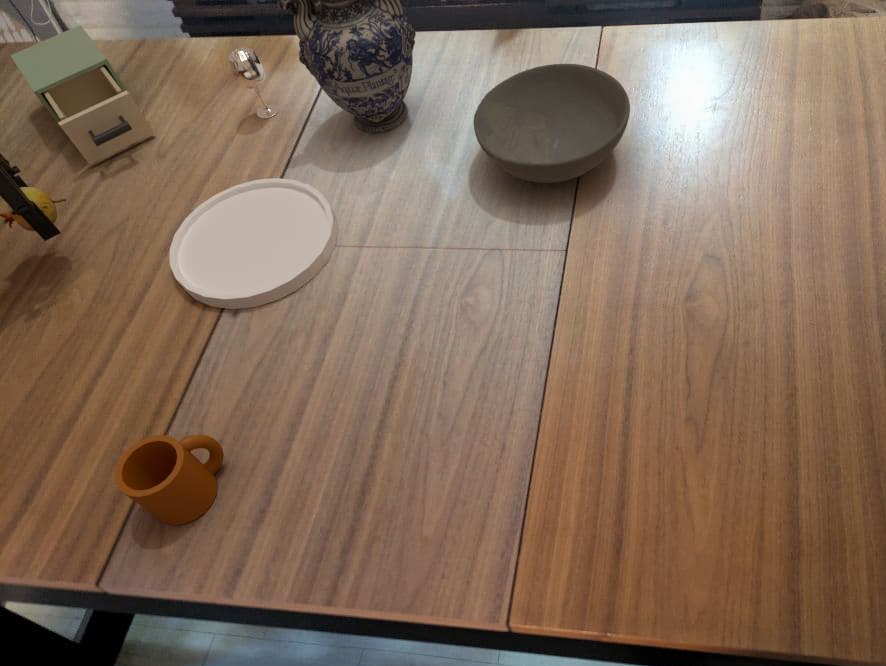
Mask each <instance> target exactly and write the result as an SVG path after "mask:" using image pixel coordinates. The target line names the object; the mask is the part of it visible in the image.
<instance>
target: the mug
mask: <svg viewBox="0 0 886 666" xmlns="http://www.w3.org/2000/svg"><path fill="white" fill-rule="evenodd" d="M198 449H203V450H206V451H208V453H209V456H208V459H207V460H206V461H205V463H202V461H201V460H199V458H197V457H196V455H195V454H193V453H192V451H194V450H198ZM224 455H225V453H224V449H223V447H222V445H221V443H220V442H218V440H217V439H216V438H214V437H212V436H209V435H207V434H201V433H199V434H192V435H188V436H185V437H183V438H181V439H180V440H178V439H177V438H174V437H173V436H171V435H165V434H157V435H151V436H148V437H146V438H142V439H141V440H138V441H137V442H136V443H135V444H133V445H131V446H130V447H129V448H128V449H127V450H126V452H124V453H123V455H122V456H121V457H120V459H119V461H118V463H117V465H116V468H115V472H114V480H115V481H114V482H115V485H116V486H117V489H119V491H120V492H121V493H123V494H124V495H125V496H126V497H128V498H130V500H132V501H133V502H135V503H136V504H137V505H139V506H140V507H142V508H143V509H144V510H146V511H147V512H149V513H150V514H151V515H153V516H154V517H155V518H157V519H158V520H160V521H162V522H163V523H165V524H167V525H173V526H179V525H184V524H188V523H190V522H193V521H195V520H197V519H198V518H199V517H201V516H203V514H205V513H206V512H207V511H208V509H209V508H210V507H211V506H212V505H213V503H214V501H215V498H216V496H217V492H218V486H219V485H218V481H217V477H216V476H215V474H216V473H217V472H218V471H219V470H220V468H221V467H222V464H223V462H224Z"/></svg>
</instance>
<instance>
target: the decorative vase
mask: <svg viewBox="0 0 886 666" xmlns="http://www.w3.org/2000/svg"><path fill="white" fill-rule="evenodd" d="M276 2H277V8H278V9H279V10H284V11H288V10H290V13H292V14H293V26H294V31H295V34H296V36H297V38H298V39H299V41H298V46H299V51H298V60H299V62H300V63H301V64H302V65H303V66H305V68H306V70H307V71H308V72H309V73H310V75H311V76H312V77H314V78H315V80H316V82H317V83H318V85H319V87H320V88H321V89H322V91H323V92H324V93H325V94H326V95H327V96H328V97H329V98H330V100H332V102H334V104H336V106H338V107H339V108H340V109H342V110H344V111H345V112H347V113H349V114H350V115H353V116H352V118H353V123H354V125H355V126H356V128H357V129H359V130H360V131H362V132H364V133H369V134H380V133H385V132H389V131H392V130H394V129H395V128H398V127H399V126H400V125H401V124H403V123H404V122H405V120H406V119H407V116H408V112H409V110H408V106H407V104H406V102H405V101H404V100H405V97H406V95H407V93H408V91H409V87H410V84H411V79H412V74H413V73H412V72H413V62H414V61H413V50H414V46H415V44H416V41H415V38H416V35H417V33H416V31H415V30H414V28H413V26H412V24H410V23H409V20H408V19H409V18H407V17H406V16H405V15H404V13H403V7H402V3H401V2H400V0H319V1H317V2H316V3H315V1H314V0H276ZM405 118H406V119H405ZM397 126H398V127H397ZM391 129H392V130H391Z"/></svg>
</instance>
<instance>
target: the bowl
mask: <svg viewBox="0 0 886 666" xmlns="http://www.w3.org/2000/svg"><path fill="white" fill-rule="evenodd" d="M630 115H631V104H630V99H629V96H628V93H627V91H626V89H625V88H624V86H623V85H622V84H621V83H620V82H619V81H618V80H617V78H615V77H614V76H612V75H611V74H609V73H607V72H606V71H603V70H601V69H598V68H596V67H593V66H589V65H584V64H579V63H553V64H545V65H539V66H535V67H532V68H529V69H525V70H523V71H521V72H518V73H516V74H514V75H512V76H510V77H508V78H506V79H504V80H503V81H501V82H500V83H498V84H497V85H495V86H494V87H493V88H492V89H491V90H489V91H488V92H486V93H485V96H484V97H483V98H482V100H481V101H480V103H479V104H478V106H477V108H476V111H475V113H474V115H473V130H474V135H475V138H476V140H477V142H478V144H479V147H480V148H481V149H482V151H483V153H484V154H485V155H486V156H487V157H488V158H489V159H490V160H491V161H492V163H494V164H495V165H497V166H498V167H499V168H501V169H502V170H503V171H505V172H506V173H508V174H510V175H511V176H513V177H514V178H517V179H520V180H523V181H526V182H527V181H528V182H533V183H538V184H540V183H541V184H552V183H561V182H567V181H569V180H573V179H576V178H578V177H580V176H582V175H585V174H586V173H587V172H590V171H591V170H593V169H594V168H595V167H597V166H598V165H599V164H601V163H602V162H604V160H605V159H607V158H608V157H609V156H610V155H611V154H612V152H614V150H615V148H616V147H617V146H618V144H619V142H620V141H621V139H622V137H623V136H624V133H625V131H626V129H627V126H628V123H629V119H630Z"/></svg>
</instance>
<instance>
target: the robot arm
mask: <svg viewBox="0 0 886 666" xmlns="http://www.w3.org/2000/svg"><path fill="white" fill-rule="evenodd" d="M21 172H22V171H21V169H20V168H19V167H18V166H17V165H13V166H11V164H10V161H9V159H6V157H5V156H3V154H2V153H1V152H0V197H1V198H2V200H3V201H4V202H5V203H6V204H7V205H9V206H10V207H11V208H12V209H13V210H12V211H11V213H12V214H13V215H16V214H17V215H18V216H20V215H21V216H22V217H23V218H24V219H25V220H26V222H27V223H28V224H29V225H30V226H31V227H32V228H33V229H34V230H35V231H34V232H36V234H38V236H39V237H40V238H41V239H42V240H43V241H44V242H46V241H49V240H51V239H52V238H55V237H57V236H59V235H61V233H62V232H61V231H60V229H59V228H58V226H56V225H55V224H54V223H52V222H51V221H50V219H49V218H48V217H47V216H46V215H45V214H44V213H43V212H42V211H41V210H40V208H39V207H38V206H37V205H36V204H35V203H34V202H33V201H31V200H29V198H28V197H27V196H26V195H25V194H24V192H23V191H22V190H21V189H20V188H21V187H30V186H29V185H28V183H26V182H25V180H23V178H22V177H21V176H20V175H19V173H21ZM17 174H18V175H17ZM9 206H8V207H9Z"/></svg>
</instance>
